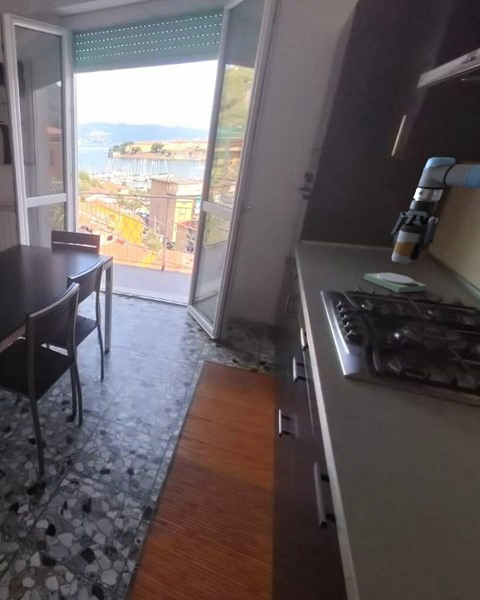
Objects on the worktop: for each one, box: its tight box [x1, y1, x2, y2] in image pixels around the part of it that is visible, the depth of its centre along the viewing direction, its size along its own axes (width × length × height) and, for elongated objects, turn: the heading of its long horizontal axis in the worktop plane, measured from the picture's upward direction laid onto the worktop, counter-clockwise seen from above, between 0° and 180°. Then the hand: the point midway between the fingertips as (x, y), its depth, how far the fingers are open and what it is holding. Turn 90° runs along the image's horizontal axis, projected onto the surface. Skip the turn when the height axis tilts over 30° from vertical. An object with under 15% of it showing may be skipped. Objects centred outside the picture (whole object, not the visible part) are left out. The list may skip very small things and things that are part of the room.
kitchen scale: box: [363, 271, 428, 294], centre depth 152 cm, size 16×13×3 cm
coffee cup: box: [391, 223, 426, 265], centre depth 146 cm, size 8×8×15 cm
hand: (403, 256), depth 148 cm, fingers closed on coffee cup, 7 cm apart
